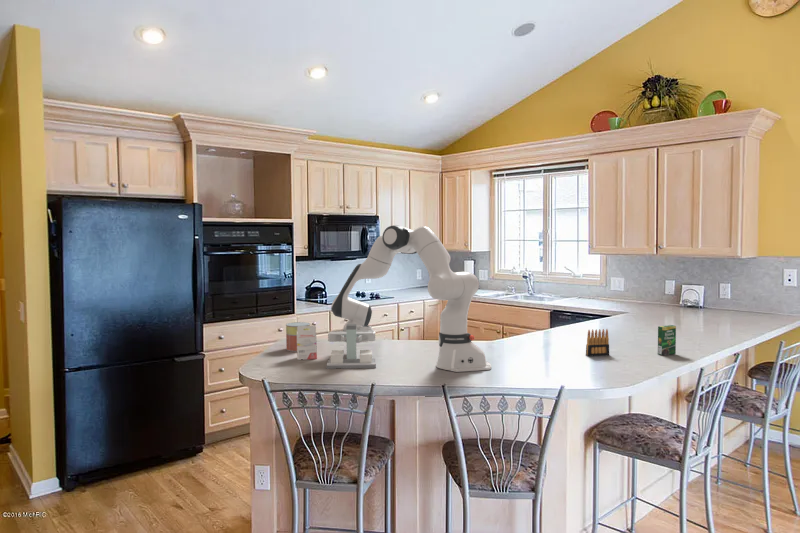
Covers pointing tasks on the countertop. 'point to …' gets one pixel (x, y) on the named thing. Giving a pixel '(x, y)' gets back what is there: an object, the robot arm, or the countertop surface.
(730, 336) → the countertop surface
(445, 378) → the countertop surface
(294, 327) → the canned food
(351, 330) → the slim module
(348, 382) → the countertop surface
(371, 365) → the mounting board
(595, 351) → the ammunition clip
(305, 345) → the ink cartridge box
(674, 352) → the coffee box
